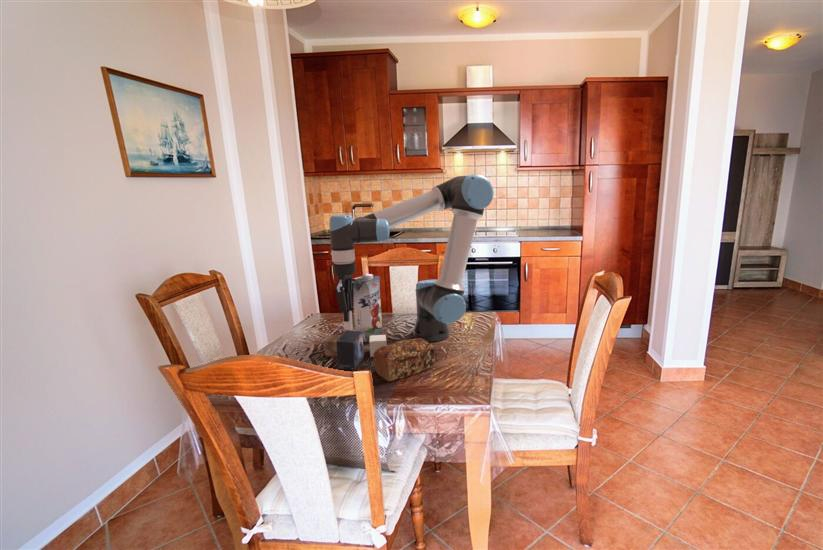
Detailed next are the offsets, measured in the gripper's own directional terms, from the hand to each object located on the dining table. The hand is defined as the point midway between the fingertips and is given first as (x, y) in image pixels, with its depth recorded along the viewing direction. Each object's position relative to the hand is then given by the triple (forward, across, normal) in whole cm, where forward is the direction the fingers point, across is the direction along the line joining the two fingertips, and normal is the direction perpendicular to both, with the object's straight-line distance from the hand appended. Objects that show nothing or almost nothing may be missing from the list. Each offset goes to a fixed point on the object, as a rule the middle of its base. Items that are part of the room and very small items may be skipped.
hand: (348, 329), depth 135 cm
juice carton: (+13, -24, -1) cm, 27 cm away
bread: (+13, +2, +20) cm, 24 cm away
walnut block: (+13, -8, -9) cm, 18 cm away
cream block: (+13, -10, +7) cm, 18 cm away
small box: (+13, 0, 0) cm, 13 cm away
